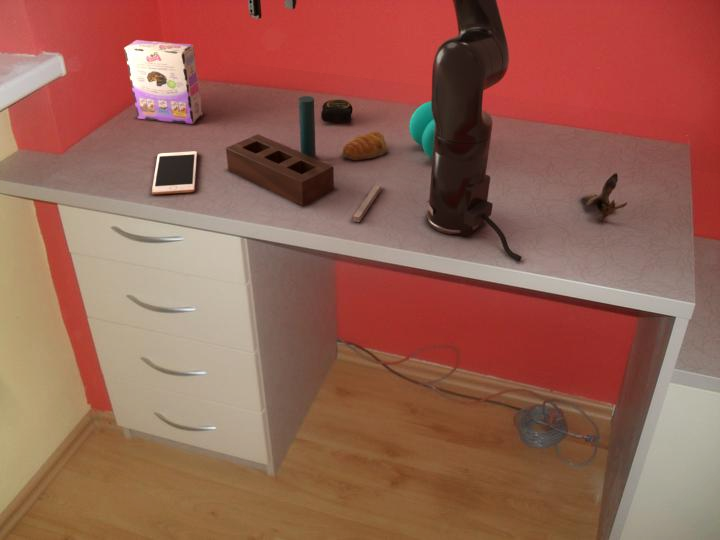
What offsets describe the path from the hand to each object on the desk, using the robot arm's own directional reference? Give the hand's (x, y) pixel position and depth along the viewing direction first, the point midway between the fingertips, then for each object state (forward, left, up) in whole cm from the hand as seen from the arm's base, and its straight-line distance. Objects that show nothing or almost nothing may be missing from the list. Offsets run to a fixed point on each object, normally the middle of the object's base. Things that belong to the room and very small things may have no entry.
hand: (273, 13), depth 132 cm
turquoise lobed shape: (-26, -20, -28) cm, 43 cm away
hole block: (-10, +10, -28) cm, 31 cm away
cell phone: (+7, +22, -28) cm, 36 cm away
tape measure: (0, -18, -28) cm, 33 cm away
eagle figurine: (-62, -21, -28) cm, 71 cm away
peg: (-8, 0, -28) cm, 29 cm away
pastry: (-15, -10, -28) cm, 33 cm away
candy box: (+30, +6, -28) cm, 42 cm away
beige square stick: (-29, +6, -28) cm, 40 cm away
